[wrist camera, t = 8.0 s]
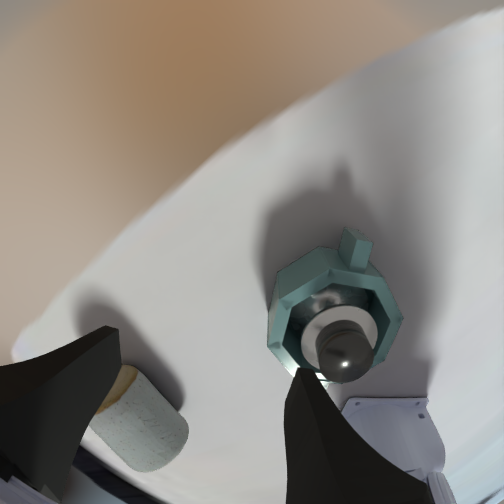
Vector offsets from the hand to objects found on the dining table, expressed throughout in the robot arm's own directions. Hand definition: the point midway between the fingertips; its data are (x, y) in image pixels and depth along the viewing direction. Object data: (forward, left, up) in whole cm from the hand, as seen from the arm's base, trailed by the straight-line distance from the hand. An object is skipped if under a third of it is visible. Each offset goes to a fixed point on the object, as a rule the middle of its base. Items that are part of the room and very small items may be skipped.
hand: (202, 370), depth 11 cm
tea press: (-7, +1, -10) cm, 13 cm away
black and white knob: (-7, +1, -10) cm, 12 cm away
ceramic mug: (+8, +15, -11) cm, 20 cm away
